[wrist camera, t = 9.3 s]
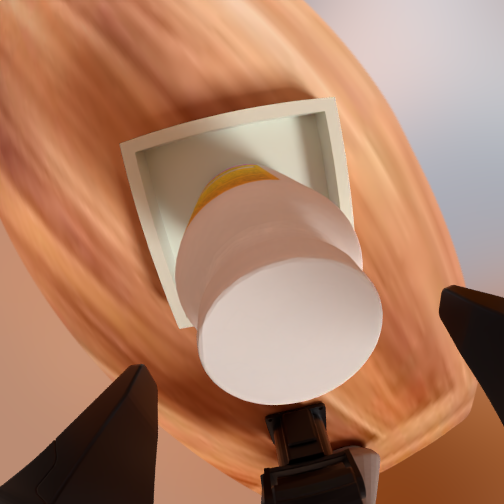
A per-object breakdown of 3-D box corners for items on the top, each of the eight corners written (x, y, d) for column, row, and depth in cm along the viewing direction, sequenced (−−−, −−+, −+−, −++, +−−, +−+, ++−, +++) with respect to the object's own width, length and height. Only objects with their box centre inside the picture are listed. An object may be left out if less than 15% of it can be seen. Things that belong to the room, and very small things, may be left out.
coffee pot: (289, 461, 32) (307, 549, 18) (364, 429, 31) (400, 517, 17) (335, 487, 39) (352, 545, 25) (388, 463, 38) (412, 521, 24)
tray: (344, 273, 21) (357, 288, 19) (183, 309, 21) (179, 328, 19) (321, 102, 16) (334, 97, 14) (132, 143, 16) (119, 143, 14)
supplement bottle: (181, 241, 19) (128, 393, 7) (221, 146, 17) (212, 145, 5) (272, 275, 20) (329, 432, 8) (316, 189, 18) (453, 271, 6)
